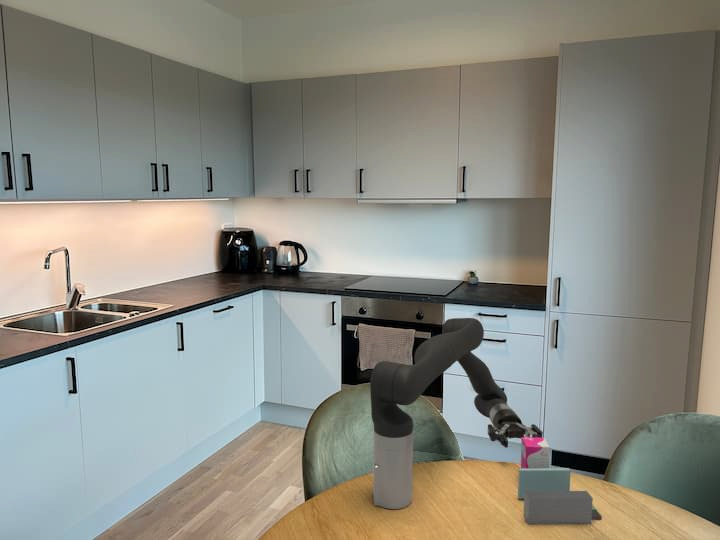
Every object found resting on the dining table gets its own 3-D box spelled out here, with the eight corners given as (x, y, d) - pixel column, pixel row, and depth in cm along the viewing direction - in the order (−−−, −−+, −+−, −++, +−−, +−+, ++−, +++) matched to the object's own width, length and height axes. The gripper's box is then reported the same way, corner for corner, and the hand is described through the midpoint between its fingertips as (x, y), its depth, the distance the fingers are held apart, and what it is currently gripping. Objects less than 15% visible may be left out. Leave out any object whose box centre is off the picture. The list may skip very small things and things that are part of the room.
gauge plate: (519, 498, 125) (520, 470, 124) (517, 496, 126) (518, 468, 125) (585, 498, 125) (587, 470, 125) (584, 495, 126) (585, 468, 126)
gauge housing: (528, 524, 116) (529, 498, 115) (513, 498, 126) (514, 474, 126) (604, 523, 116) (606, 498, 115) (583, 497, 127) (585, 474, 126)
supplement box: (542, 479, 135) (544, 437, 134) (548, 492, 129) (550, 447, 128) (519, 478, 136) (521, 436, 134) (524, 490, 130) (526, 446, 128)
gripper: (481, 408, 156) (496, 430, 140) (529, 408, 157) (549, 430, 140) (480, 432, 157) (495, 457, 141) (528, 432, 157) (548, 457, 141)
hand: (522, 444), depth 141 cm, fingers open, 8 cm apart
